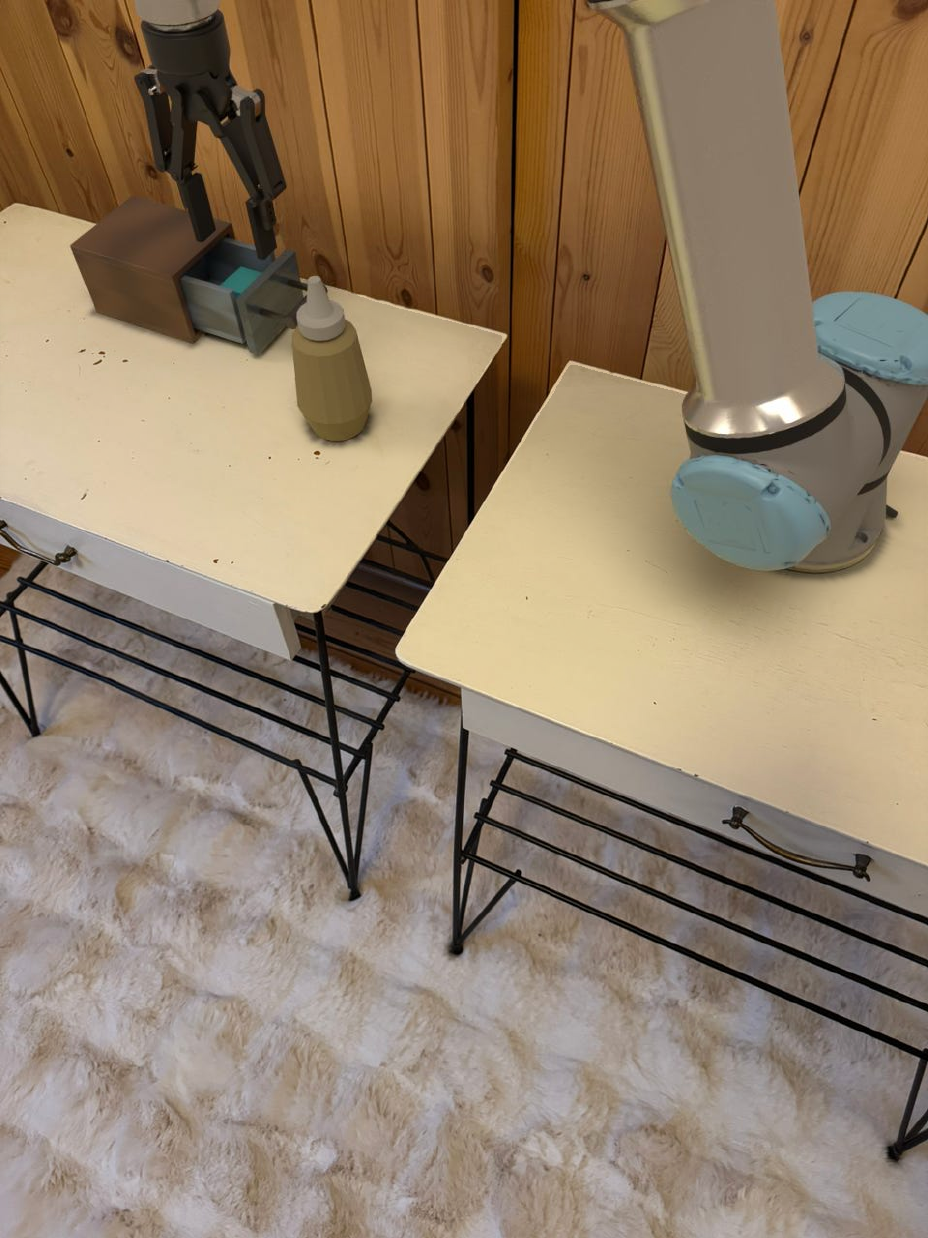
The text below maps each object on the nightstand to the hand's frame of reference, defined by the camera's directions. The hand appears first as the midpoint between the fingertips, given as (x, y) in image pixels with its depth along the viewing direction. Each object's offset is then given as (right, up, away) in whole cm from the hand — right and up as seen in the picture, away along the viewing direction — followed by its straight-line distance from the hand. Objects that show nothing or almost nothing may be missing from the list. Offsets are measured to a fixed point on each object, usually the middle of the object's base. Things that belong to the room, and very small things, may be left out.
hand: (236, 243), depth 102 cm
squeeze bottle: (+12, -20, -1) cm, 23 cm away
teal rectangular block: (0, -5, +7) cm, 9 cm away
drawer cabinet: (-11, -2, +12) cm, 17 cm away
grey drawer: (0, -6, +8) cm, 10 cm away
